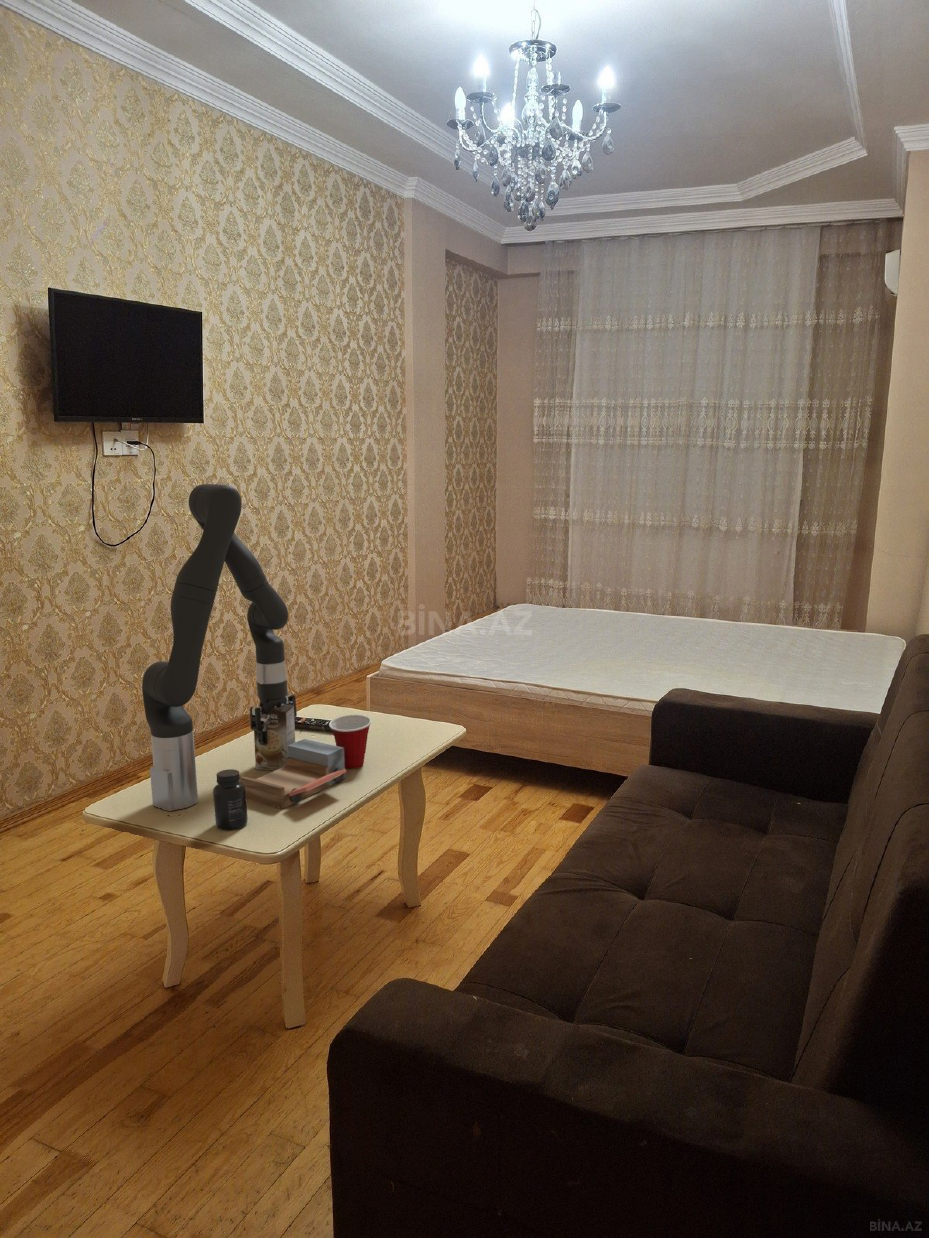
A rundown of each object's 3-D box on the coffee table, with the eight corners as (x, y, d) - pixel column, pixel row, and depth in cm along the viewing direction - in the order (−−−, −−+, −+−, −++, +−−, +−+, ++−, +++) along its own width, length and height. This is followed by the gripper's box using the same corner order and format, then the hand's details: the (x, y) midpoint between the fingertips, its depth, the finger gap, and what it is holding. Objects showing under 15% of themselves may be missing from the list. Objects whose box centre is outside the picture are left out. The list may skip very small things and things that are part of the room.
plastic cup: (322, 768, 229) (320, 723, 226) (347, 755, 238) (345, 712, 236) (356, 775, 224) (355, 729, 221) (381, 762, 233) (379, 717, 231)
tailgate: (289, 797, 203) (307, 791, 200) (288, 792, 203) (305, 787, 200) (329, 778, 215) (346, 772, 211) (328, 774, 215) (345, 768, 211)
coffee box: (254, 770, 228) (250, 709, 225) (264, 761, 234) (260, 702, 231) (288, 772, 227) (285, 711, 223) (297, 763, 233) (294, 703, 230)
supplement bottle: (250, 817, 199) (247, 766, 197) (244, 831, 192) (240, 778, 190) (219, 818, 199) (216, 767, 197) (212, 831, 192) (208, 779, 190)
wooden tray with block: (285, 809, 203) (283, 776, 202) (241, 797, 211) (239, 765, 209) (348, 779, 221) (347, 748, 220) (305, 768, 229) (304, 738, 227)
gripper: (280, 670, 234) (284, 729, 237) (240, 683, 222) (244, 745, 225) (302, 673, 230) (305, 734, 233) (261, 687, 218) (265, 750, 221)
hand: (275, 739), depth 229 cm, fingers closed on coffee box, 8 cm apart
